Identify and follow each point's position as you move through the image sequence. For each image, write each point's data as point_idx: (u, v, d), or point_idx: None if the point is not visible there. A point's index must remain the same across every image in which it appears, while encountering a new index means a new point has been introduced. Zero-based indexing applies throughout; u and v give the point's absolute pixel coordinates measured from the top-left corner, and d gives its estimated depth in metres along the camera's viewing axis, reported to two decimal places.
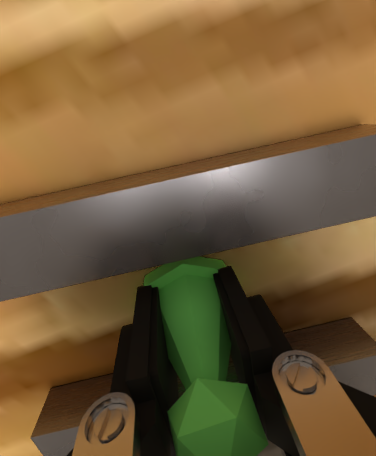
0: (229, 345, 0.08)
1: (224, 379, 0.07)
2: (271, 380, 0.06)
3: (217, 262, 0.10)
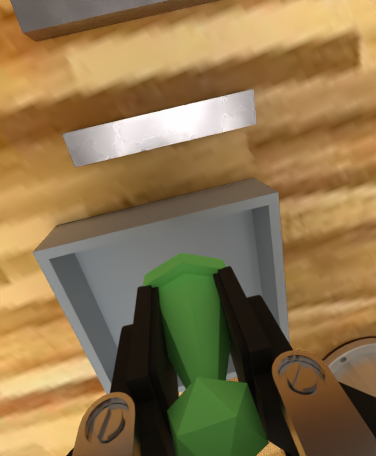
0: (229, 344, 0.08)
1: (224, 378, 0.07)
2: (271, 380, 0.06)
3: (217, 261, 0.10)
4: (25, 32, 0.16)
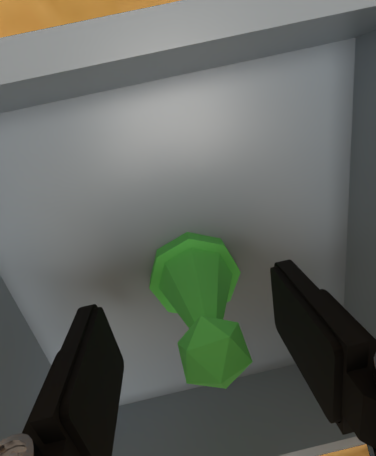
0: (225, 302, 0.10)
1: None
2: (367, 377, 0.06)
3: (216, 239, 0.12)
4: None
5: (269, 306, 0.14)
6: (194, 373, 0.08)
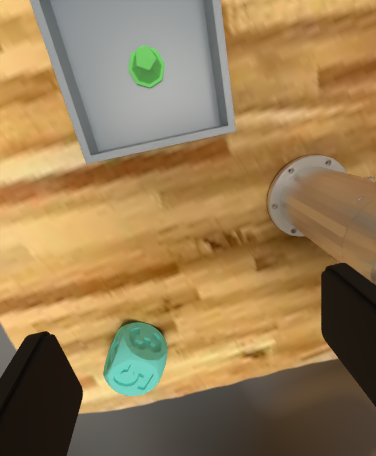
0: None
1: None
2: None
3: None
4: None
5: (181, 91, 0.33)
6: (138, 58, 0.26)
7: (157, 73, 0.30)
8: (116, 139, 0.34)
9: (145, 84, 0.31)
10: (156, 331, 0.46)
